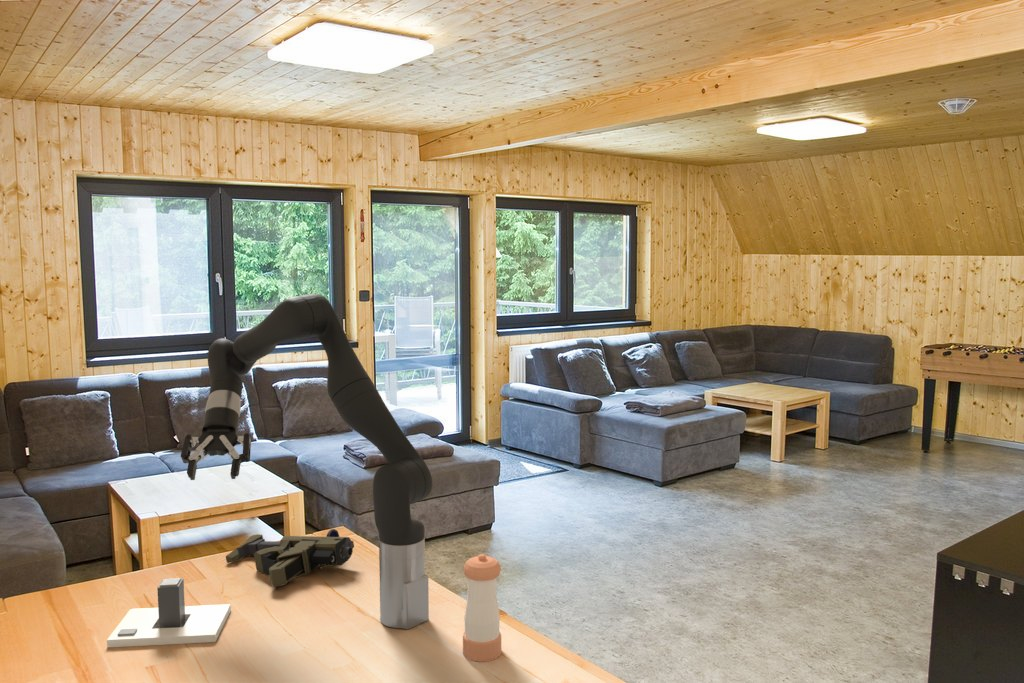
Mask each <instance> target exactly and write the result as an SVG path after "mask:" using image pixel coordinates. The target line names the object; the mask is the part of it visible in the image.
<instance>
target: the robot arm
mask: <svg viewBox="0 0 1024 683" xmlns="http://www.w3.org/2000/svg"><path fill="white" fill-rule="evenodd" d="M314 337H316V338H317V339H318V341H319V342H320V344H321V346H322V348H323V350H324V351H325V354H326V357H327V379H326V381H327V382H326V384H327V387H326V388H327V393H328V396H329V398H330V400H331V402H332V403H333V405H334V407H335V409H336V411H337V412H338V414H339V416H340V417H341V419H342V420H343V421H344V422H345V424H347V425H348V427H349V428H351V429H352V430H354V431H355V432H356V433H358V434H359V435H360V436H362V437H363V438H365V439H366V440H367V441H368V442H370V443H372V445H373V446H375V447H376V449H377V450H378V451H379V452H380V453H381V454H382V456H383V458H384V459H385V460H386V462H387V463H386V464H384V465H382V466H380V467H379V468H378V469H377V470H376V471H375V474H374V477H373V480H372V498H373V511H374V512H373V513H374V523H375V526H376V529H377V531H378V543H379V544H378V545H379V546H378V548H379V550H378V553H379V554H378V556H379V560H378V562H379V614H380V616H379V618H380V619H379V620H380V622H381V623H382V624H383V625H384V626H386V627H389V628H392V629H394V628H395V629H404V630H410V629H412V628H414V627H415V626H419V625H420V624H422V623H425V622H427V621H429V620H430V619H429V617H430V616H429V614H430V613H429V612H430V610H429V609H430V608H429V606H430V604H429V603H430V602H429V590H430V588H429V575H427V574H426V572H425V571H426V562H425V560H426V559H425V556H426V555H425V554H426V553H425V551H426V550H425V547H426V546H425V542H426V540H425V537H426V536H425V531H426V530H425V525H424V523H423V522H422V521H421V520H419V519H418V518H417V519H416V518H413V517H411V516H412V515H411V505H412V504H415V503H417V502H420V501H422V500H424V499H426V498H427V497H429V495H430V494H431V493H432V489H433V477H432V474H431V471H430V468H429V467H428V465H427V464H426V462H425V460H424V458H422V456H421V454H419V452H418V451H417V449H416V448H415V447H414V446H413V444H412V443H411V441H410V440H409V439H408V437H407V436H406V435H405V433H404V432H403V430H402V429H401V428H400V426H399V424H398V423H397V421H396V419H395V418H394V416H393V414H392V412H391V411H390V409H388V406H387V405H386V403H385V402H384V400H383V398H382V397H381V394H380V392H379V391H378V389H377V387H376V385H375V384H374V382H373V381H372V379H371V377H370V375H369V374H368V372H367V371H366V370H365V368H364V366H363V364H362V363H361V361H360V359H359V357H358V356H357V353H356V352H355V349H354V348H353V346H352V345H351V343H350V340H349V339H348V337H347V335H346V332H345V330H344V328H343V326H342V324H341V321H340V320H339V317H338V315H337V313H336V311H335V309H334V307H333V305H332V304H331V303H330V301H329V299H327V298H326V297H325V295H322V294H321V293H310V294H302V295H297V296H292V297H291V296H290V297H288V298H286V299H284V300H282V302H280V303H279V304H278V305H277V306H276V307H275V308H274V309H273V310H272V311H270V313H269V314H268V315H267V316H266V317H265V318H264V319H263V320H262V321H261V322H260V323H258V324H257V325H255V326H253V327H251V328H249V329H248V330H246V331H244V332H242V333H241V334H239V335H238V336H237V337H236V338H235V339H234V341H232V340H229V339H227V338H223V337H221V338H217V339H216V340H214V341H213V342H212V343H211V344H210V346H209V349H208V353H207V366H208V371H209V376H210V377H209V378H210V387H209V392H208V393H209V394H208V399H207V400H206V406H205V411H204V415H203V423H202V428H201V433H200V435H199V436H192V435H191V434H186V435H185V437H184V441H183V444H182V449H181V453H180V458H181V461H182V463H183V464H187V471H186V474H187V477H188V478H189V480H190V481H195V479H196V474H197V468H198V465H197V464H199V463H200V461H202V460H204V459H205V458H207V456H208V455H209V456H210V457H214V456H221V457H223V456H225V455H228V456H229V457H230V459H231V460H232V461H231V468H230V474H229V475H230V478H231V480H235V479H236V478H237V477H239V475H240V469H241V468H240V467H241V464H242V463H248V462H250V461H251V451H252V450H251V447H252V440H251V435H250V433H247V432H246V433H244V434H243V435H238V428H239V422H240V417H241V408H242V407H241V406H242V402H241V400H242V395H243V394H242V393H243V386H244V385H243V379H242V378H241V377H242V376H246V375H247V374H248V373H249V372H250V371H251V369H252V368H253V366H254V365H255V364H256V362H257V361H259V360H261V359H262V358H264V357H267V355H269V354H271V353H272V352H273V351H274V350H275V349H276V348H277V346H278V344H279V343H282V342H286V341H292V340H305V339H308V338H314ZM240 376H241V377H240ZM197 443H198V444H199V445H198V446H197V447H196V448H195V451H194V452H192V449H193V448H194V447H195V446H196V444H197ZM238 443H240V445H241V446H242V453H241V454H239V453H238V451H237V450H236V448H235V446H237V444H238Z"/></svg>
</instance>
